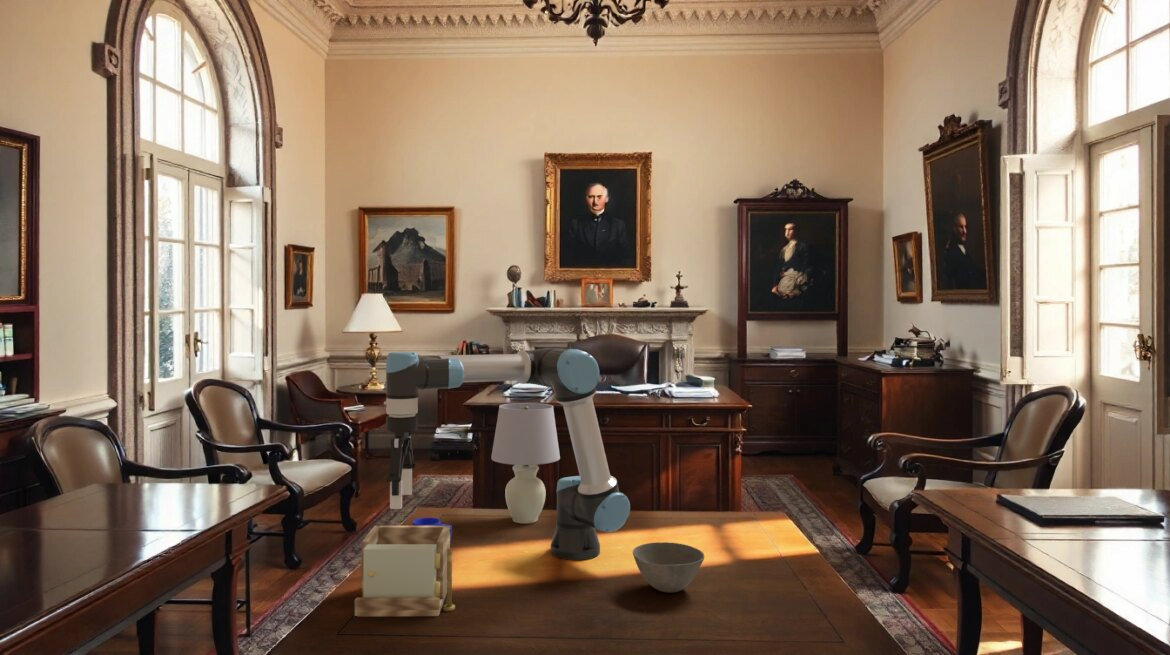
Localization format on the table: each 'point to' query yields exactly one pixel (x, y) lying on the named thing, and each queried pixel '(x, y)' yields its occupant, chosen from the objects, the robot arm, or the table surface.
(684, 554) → the bowl
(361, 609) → the cabinet
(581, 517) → the robot arm
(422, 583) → the door
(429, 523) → the mug
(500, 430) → the lamp
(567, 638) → the table surface
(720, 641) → the table surface
